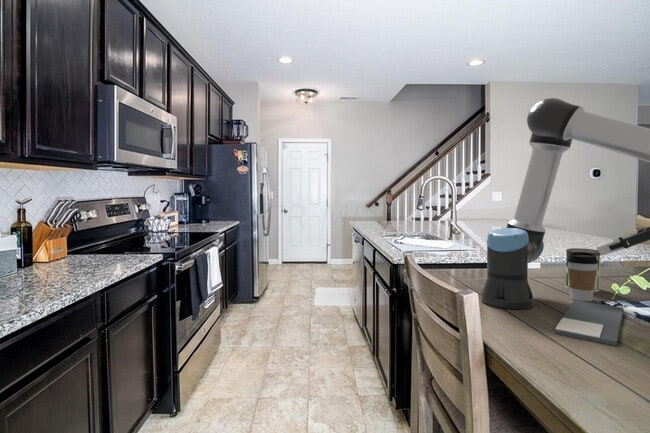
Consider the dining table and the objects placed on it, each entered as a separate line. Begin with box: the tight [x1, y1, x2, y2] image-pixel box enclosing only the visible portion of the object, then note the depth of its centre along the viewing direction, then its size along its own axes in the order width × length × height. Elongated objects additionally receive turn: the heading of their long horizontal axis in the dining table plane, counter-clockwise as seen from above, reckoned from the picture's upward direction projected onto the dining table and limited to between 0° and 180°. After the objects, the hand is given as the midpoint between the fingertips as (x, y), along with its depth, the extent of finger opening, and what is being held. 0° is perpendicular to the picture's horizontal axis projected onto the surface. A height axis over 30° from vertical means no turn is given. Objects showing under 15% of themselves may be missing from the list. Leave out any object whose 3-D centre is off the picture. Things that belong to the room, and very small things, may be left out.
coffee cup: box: [567, 252, 598, 302], centre depth 119 cm, size 8×8×15 cm
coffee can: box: [565, 247, 601, 293], centre depth 131 cm, size 10×10×14 cm
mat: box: [554, 299, 624, 346], centre depth 98 cm, size 32×12×1 cm, turn 138°
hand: (607, 247), depth 113 cm, fingers open, 13 cm apart
